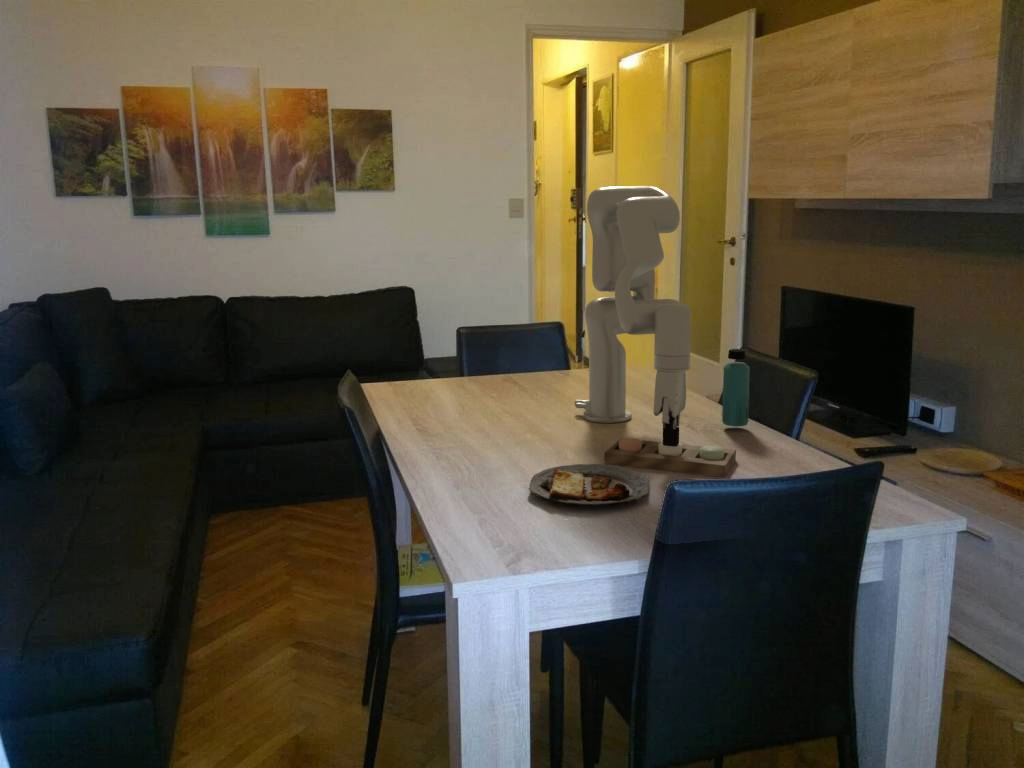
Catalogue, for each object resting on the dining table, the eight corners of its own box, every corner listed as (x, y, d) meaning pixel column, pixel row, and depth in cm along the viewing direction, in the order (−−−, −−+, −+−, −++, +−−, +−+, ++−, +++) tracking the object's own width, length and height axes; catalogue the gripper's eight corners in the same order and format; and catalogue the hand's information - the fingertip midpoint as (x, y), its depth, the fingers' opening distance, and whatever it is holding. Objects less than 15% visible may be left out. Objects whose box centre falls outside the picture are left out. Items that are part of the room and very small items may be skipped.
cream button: (655, 462, 186) (656, 446, 185) (661, 455, 190) (662, 440, 190) (678, 464, 184) (678, 449, 183) (684, 458, 188) (684, 442, 188)
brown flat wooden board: (604, 463, 187) (604, 452, 187) (621, 448, 198) (621, 438, 197) (724, 477, 177) (725, 465, 176) (735, 460, 187) (735, 449, 187)
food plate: (647, 516, 156) (647, 497, 155) (521, 512, 160) (520, 494, 159) (650, 476, 180) (650, 460, 180) (540, 473, 184) (540, 457, 184)
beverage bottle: (749, 433, 209) (752, 352, 204) (721, 432, 210) (723, 351, 206) (747, 426, 215) (750, 347, 211) (720, 425, 216) (722, 346, 212)
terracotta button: (615, 458, 190) (616, 442, 189) (622, 452, 194) (622, 437, 193) (637, 460, 188) (638, 445, 187) (644, 454, 192) (644, 439, 191)
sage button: (697, 467, 182) (697, 451, 182) (702, 460, 187) (702, 445, 186) (720, 469, 180) (721, 453, 179) (725, 462, 185) (726, 447, 184)
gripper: (663, 355, 191) (662, 435, 194) (645, 367, 177) (644, 452, 181) (697, 357, 188) (695, 438, 191) (681, 369, 174) (679, 456, 178)
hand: (670, 444), depth 186 cm, fingers closed
